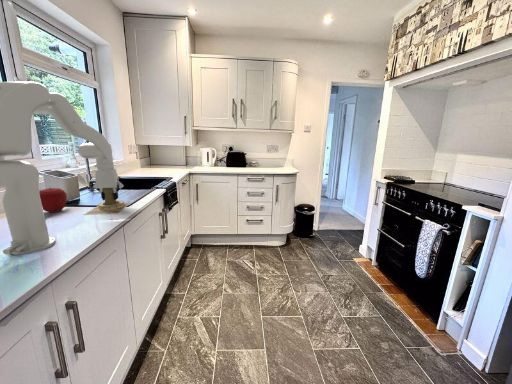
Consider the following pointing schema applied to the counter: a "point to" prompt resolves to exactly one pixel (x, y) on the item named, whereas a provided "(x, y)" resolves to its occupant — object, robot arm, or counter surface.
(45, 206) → the apple
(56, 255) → the counter surface
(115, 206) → the beech ring
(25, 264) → the counter surface
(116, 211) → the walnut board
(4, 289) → the counter surface
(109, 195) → the cork
